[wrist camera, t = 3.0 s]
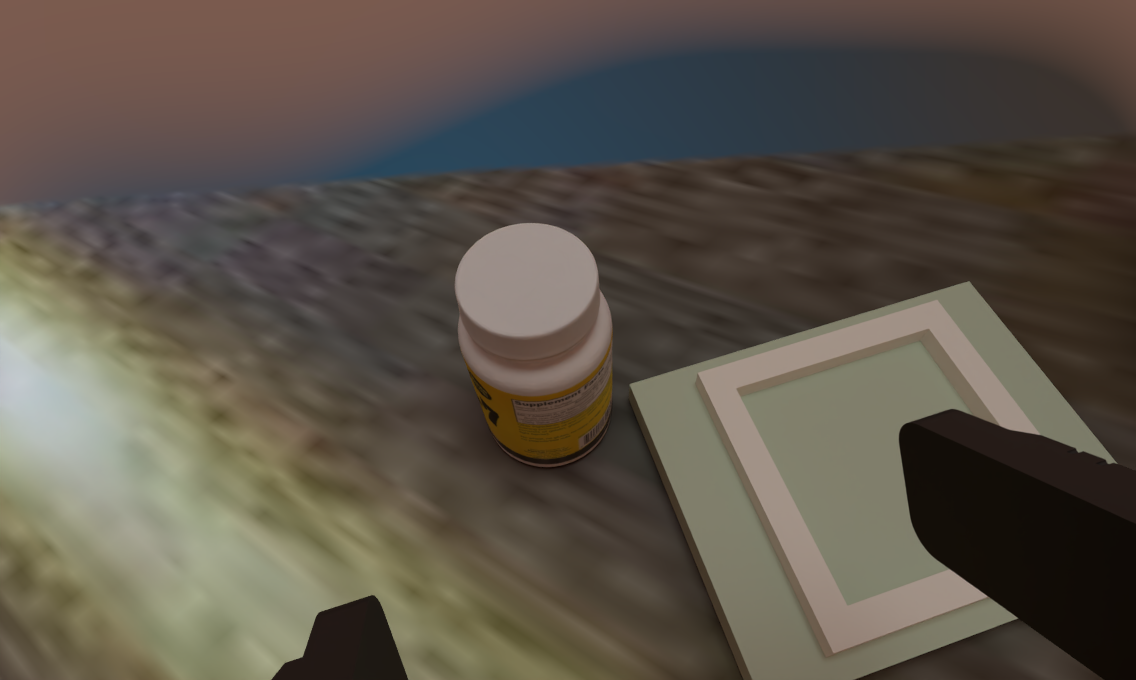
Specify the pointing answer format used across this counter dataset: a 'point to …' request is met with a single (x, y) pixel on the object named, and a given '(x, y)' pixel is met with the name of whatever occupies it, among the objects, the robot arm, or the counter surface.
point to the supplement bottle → (537, 342)
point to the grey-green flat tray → (837, 480)
